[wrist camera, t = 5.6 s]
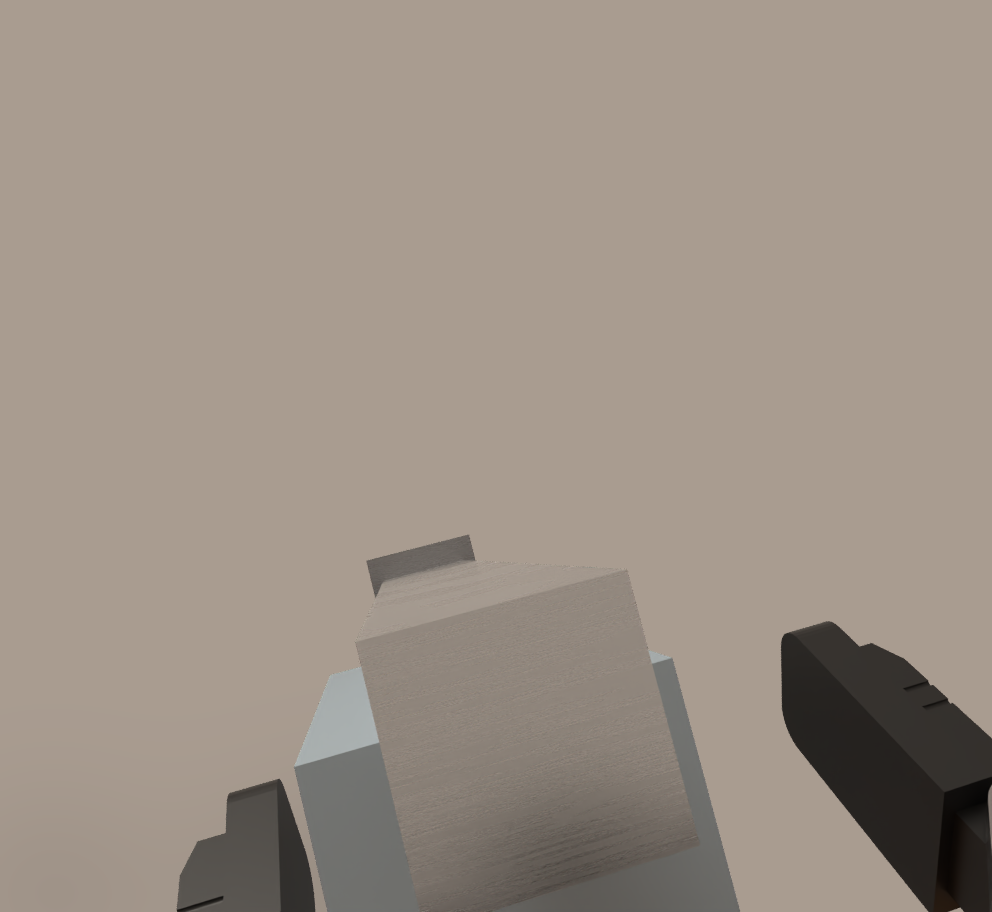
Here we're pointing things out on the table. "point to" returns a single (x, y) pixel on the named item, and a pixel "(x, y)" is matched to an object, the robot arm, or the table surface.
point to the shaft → (517, 726)
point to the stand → (378, 841)
